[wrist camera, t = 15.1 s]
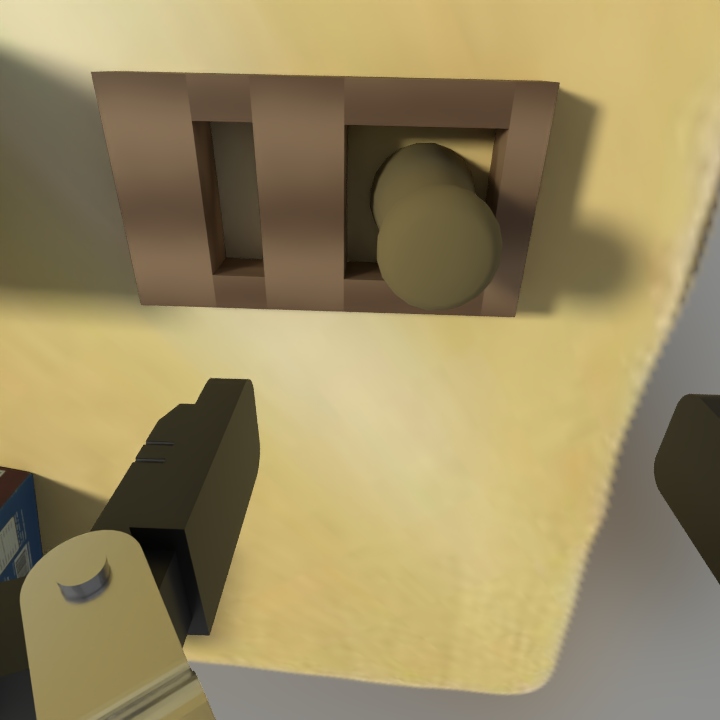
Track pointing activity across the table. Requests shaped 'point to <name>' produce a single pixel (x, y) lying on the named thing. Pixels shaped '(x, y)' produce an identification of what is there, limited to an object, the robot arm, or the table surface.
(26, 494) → the protein box
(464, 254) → the cork
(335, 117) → the brown slatted wooden frame
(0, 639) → the robot arm
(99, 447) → the table surface
